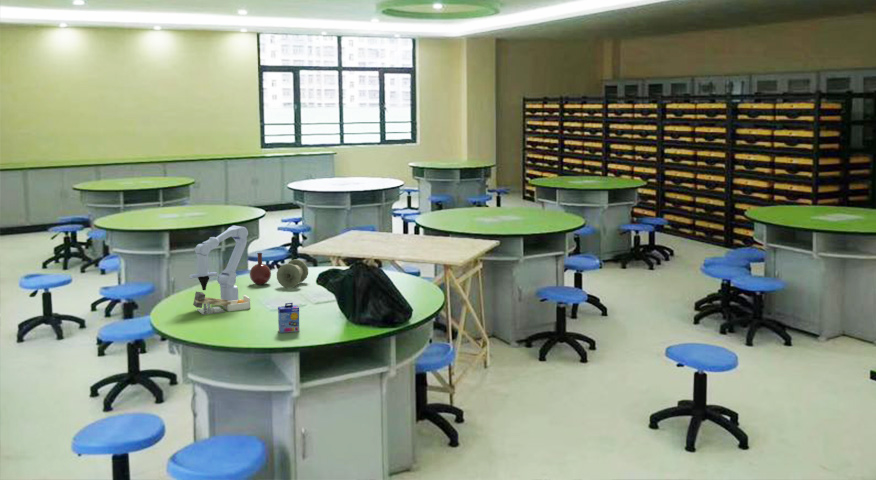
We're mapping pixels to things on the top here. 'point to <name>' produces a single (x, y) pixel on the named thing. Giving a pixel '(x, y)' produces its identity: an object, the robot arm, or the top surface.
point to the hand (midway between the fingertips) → (204, 289)
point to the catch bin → (239, 306)
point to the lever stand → (210, 310)
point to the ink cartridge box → (288, 318)
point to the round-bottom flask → (260, 272)
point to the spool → (292, 273)
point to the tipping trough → (208, 300)
